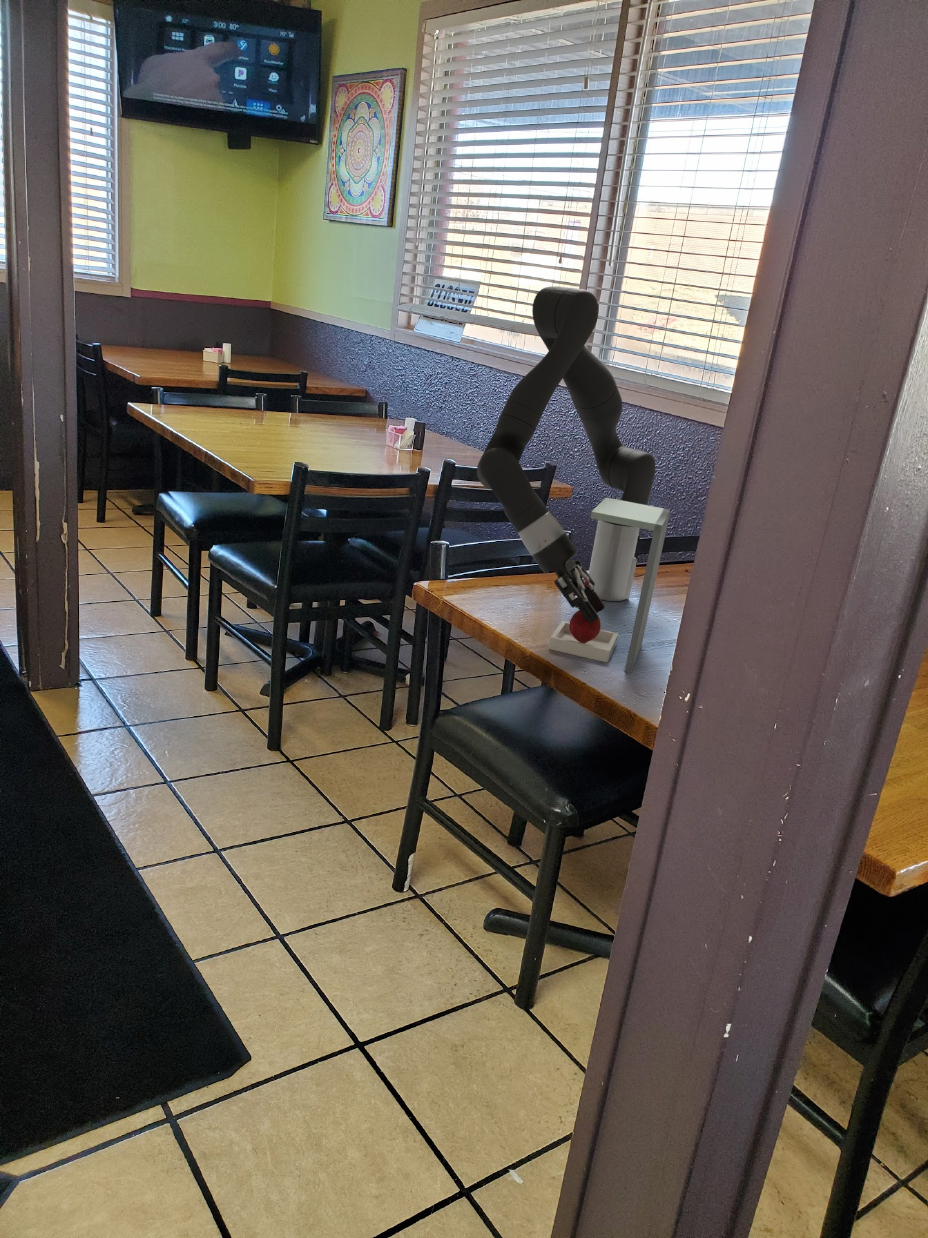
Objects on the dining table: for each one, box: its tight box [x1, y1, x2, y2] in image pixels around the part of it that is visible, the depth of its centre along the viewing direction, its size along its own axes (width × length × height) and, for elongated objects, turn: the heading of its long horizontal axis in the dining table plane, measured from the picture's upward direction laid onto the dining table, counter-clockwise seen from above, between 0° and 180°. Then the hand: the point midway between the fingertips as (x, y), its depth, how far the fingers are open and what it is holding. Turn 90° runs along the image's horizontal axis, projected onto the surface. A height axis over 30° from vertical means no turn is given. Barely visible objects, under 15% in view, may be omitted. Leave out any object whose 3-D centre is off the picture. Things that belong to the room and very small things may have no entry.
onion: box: [569, 609, 602, 644], centre depth 174 cm, size 6×6×8 cm
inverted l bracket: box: [590, 497, 671, 674], centre depth 170 cm, size 12×16×27 cm
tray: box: [548, 620, 619, 663], centre depth 175 cm, size 11×11×2 cm
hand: (597, 615), depth 173 cm, fingers open, 6 cm apart
